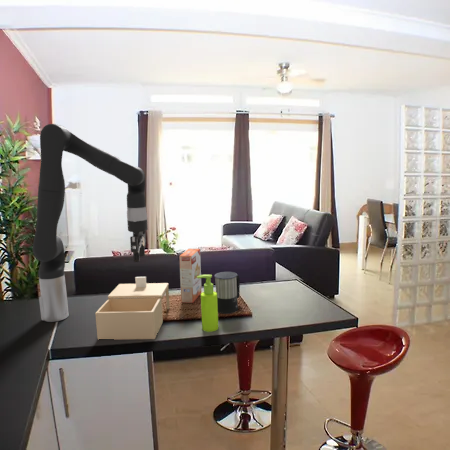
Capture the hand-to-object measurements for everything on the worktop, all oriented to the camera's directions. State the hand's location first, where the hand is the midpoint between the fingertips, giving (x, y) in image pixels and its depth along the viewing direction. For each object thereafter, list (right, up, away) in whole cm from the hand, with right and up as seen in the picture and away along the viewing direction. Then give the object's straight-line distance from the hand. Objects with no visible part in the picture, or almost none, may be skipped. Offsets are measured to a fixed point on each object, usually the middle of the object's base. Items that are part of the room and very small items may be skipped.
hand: (139, 259), depth 156 cm
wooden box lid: (0, -13, -1) cm, 13 cm away
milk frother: (+32, -21, +7) cm, 39 cm away
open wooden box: (0, -24, -6) cm, 24 cm away
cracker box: (+19, -19, +19) cm, 33 cm away
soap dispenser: (+28, -24, -13) cm, 39 cm away
